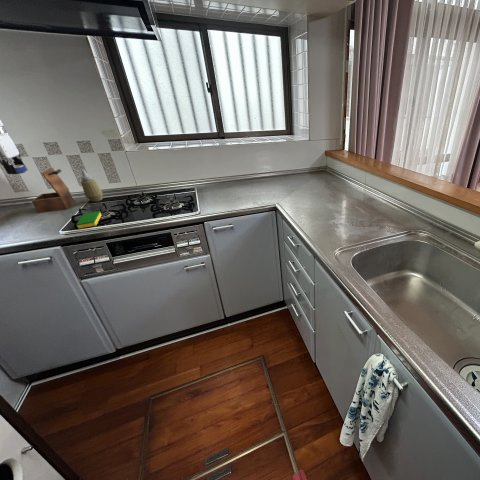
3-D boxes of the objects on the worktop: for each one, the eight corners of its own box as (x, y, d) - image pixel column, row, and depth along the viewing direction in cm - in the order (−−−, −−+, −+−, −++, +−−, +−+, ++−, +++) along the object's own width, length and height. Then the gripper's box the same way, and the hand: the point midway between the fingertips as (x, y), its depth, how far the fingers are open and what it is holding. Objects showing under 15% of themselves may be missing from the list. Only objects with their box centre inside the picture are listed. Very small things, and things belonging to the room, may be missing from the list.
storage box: (38, 212, 144) (31, 200, 140) (47, 205, 153) (41, 193, 149) (66, 208, 148) (60, 197, 144) (74, 201, 157) (68, 190, 153)
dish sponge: (101, 215, 140) (99, 210, 138) (96, 225, 129) (94, 221, 128) (85, 217, 137) (83, 213, 136) (78, 228, 126) (75, 224, 125)
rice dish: (4, 175, 122) (0, 169, 120) (13, 171, 127) (9, 165, 126) (24, 174, 124) (20, 167, 122) (31, 170, 129) (28, 163, 128)
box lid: (40, 173, 136) (51, 170, 138) (50, 167, 146) (60, 165, 147) (59, 196, 144) (69, 194, 145) (67, 190, 153) (77, 187, 154)
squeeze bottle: (103, 196, 163) (90, 167, 154) (106, 200, 158) (92, 170, 149) (87, 200, 159) (73, 170, 150) (89, 203, 153) (74, 173, 144)
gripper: (-5, 129, 122) (17, 167, 131) (-32, 134, 108) (-5, 177, 117) (16, 128, 124) (37, 166, 133) (-8, 133, 110) (17, 175, 119)
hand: (17, 171), depth 125 cm, fingers closed on rice dish, 7 cm apart
